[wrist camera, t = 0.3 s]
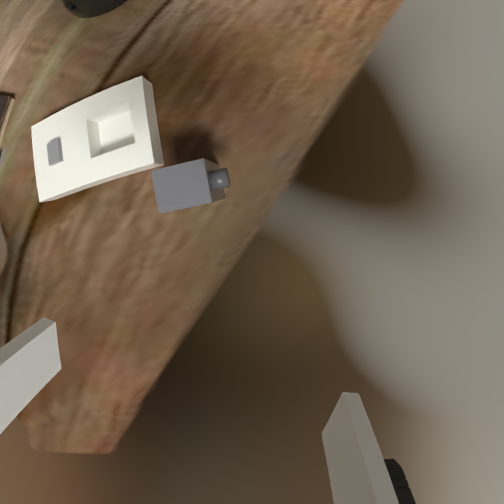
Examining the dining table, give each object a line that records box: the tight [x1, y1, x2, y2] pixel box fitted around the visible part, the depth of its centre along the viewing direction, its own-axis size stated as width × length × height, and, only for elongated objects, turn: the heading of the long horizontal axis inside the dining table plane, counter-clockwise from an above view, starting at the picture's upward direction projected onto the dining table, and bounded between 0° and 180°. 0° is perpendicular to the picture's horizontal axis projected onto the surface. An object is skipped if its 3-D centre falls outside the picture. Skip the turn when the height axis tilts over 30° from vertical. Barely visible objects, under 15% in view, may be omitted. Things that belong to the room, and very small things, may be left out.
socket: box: [31, 76, 164, 202], centre depth 31 cm, size 11×18×4 cm, turn 100°
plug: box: [151, 158, 230, 214], centre depth 30 cm, size 4×7×9 cm, turn 100°
